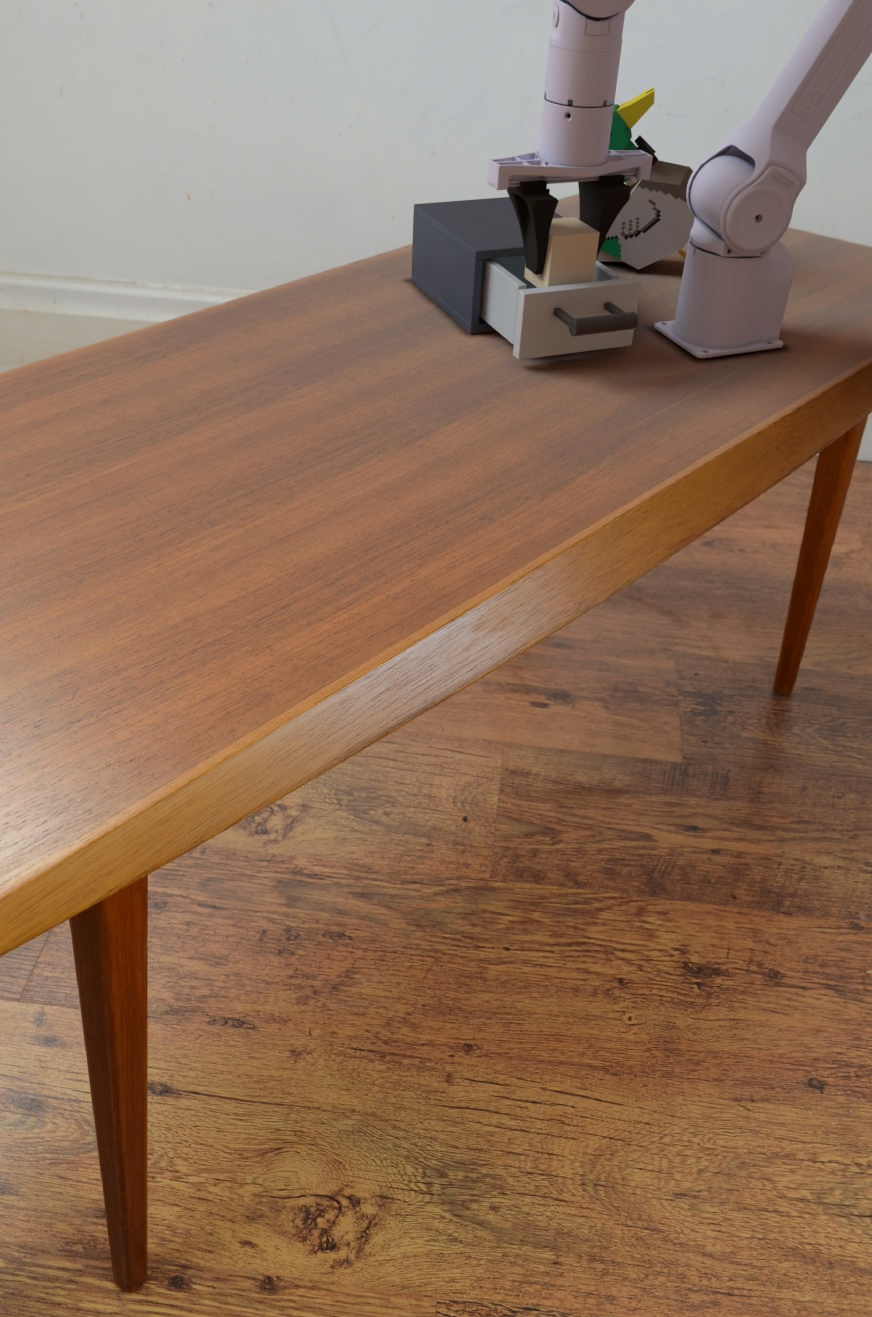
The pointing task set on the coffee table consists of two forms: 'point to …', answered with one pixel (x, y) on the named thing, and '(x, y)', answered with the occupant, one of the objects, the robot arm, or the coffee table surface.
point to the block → (568, 254)
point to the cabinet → (462, 252)
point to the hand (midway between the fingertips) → (560, 267)
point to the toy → (647, 199)
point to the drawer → (558, 310)
